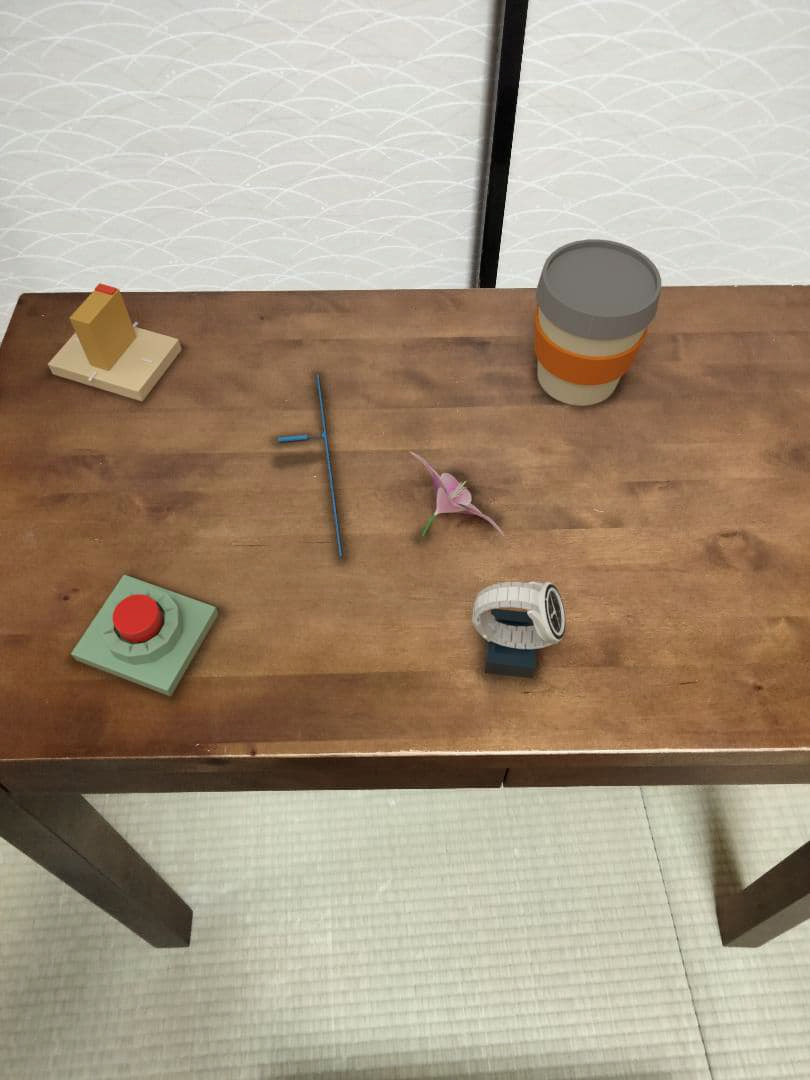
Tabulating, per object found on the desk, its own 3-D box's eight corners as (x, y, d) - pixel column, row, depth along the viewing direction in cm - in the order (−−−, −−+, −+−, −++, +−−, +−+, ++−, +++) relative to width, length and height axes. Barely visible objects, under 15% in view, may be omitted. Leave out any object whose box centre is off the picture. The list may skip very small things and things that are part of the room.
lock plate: (52, 383, 95) (43, 366, 93) (100, 326, 100) (93, 309, 98) (141, 410, 93) (135, 394, 91) (186, 351, 98) (181, 334, 96)
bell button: (109, 634, 73) (103, 625, 72) (132, 597, 75) (127, 588, 74) (148, 648, 72) (142, 639, 71) (171, 611, 74) (166, 602, 73)
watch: (552, 685, 74) (573, 630, 65) (464, 674, 75) (473, 618, 66) (554, 630, 77) (574, 570, 68) (469, 620, 78) (478, 559, 69)
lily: (499, 586, 81) (539, 508, 76) (390, 571, 77) (425, 488, 72) (465, 516, 90) (499, 442, 85) (366, 499, 86) (395, 421, 81)
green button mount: (78, 664, 75) (63, 644, 72) (130, 585, 80) (118, 564, 77) (173, 700, 74) (162, 682, 70) (220, 617, 78) (212, 597, 75)
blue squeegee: (288, 561, 80) (341, 555, 80) (272, 377, 93) (318, 374, 94) (289, 568, 81) (342, 563, 82) (274, 386, 95) (318, 383, 95)
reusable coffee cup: (600, 334, 100) (629, 227, 87) (649, 407, 93) (687, 303, 80) (505, 357, 97) (520, 251, 85) (548, 433, 91) (571, 330, 78)
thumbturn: (108, 371, 93) (88, 322, 87) (90, 365, 93) (68, 316, 87) (136, 336, 96) (118, 287, 90) (118, 331, 96) (99, 281, 90)
